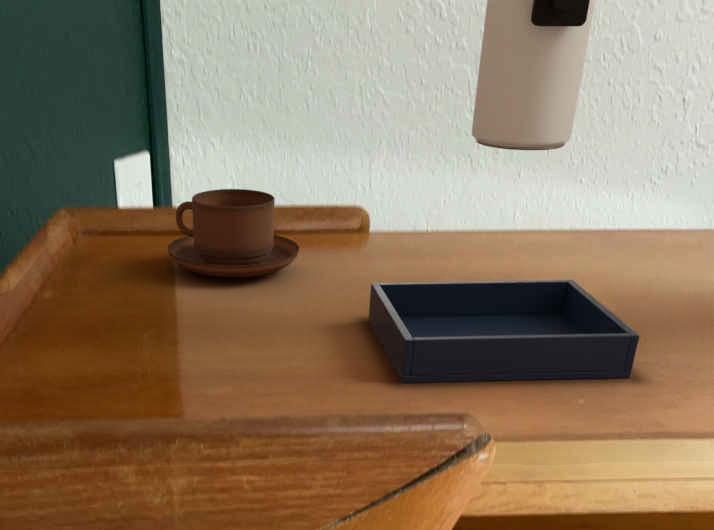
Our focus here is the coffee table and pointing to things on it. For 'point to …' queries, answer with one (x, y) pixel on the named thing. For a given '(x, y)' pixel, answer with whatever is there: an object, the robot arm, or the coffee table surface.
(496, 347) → the tray
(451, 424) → the coffee table surface
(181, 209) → the cup and saucer
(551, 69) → the can
